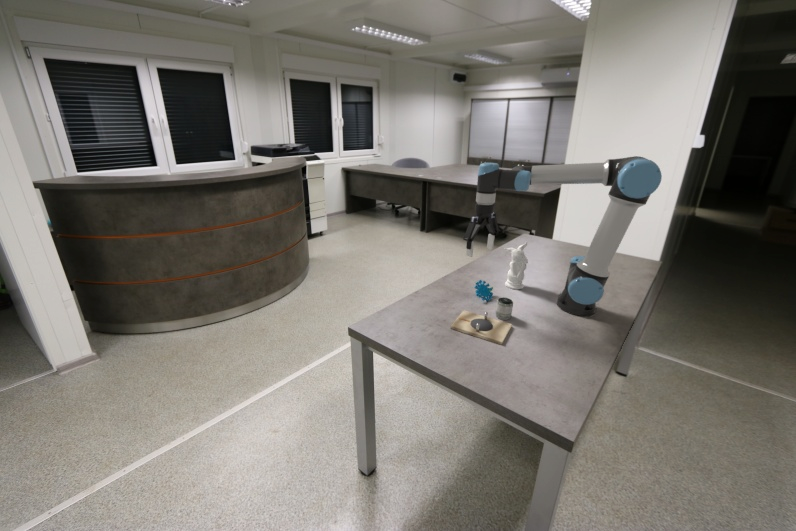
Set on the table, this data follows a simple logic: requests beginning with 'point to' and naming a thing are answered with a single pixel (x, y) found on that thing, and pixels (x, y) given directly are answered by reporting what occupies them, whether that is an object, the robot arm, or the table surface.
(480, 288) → the gear
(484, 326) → the seat
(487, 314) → the pins
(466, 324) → the mount
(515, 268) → the white statue
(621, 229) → the robot arm
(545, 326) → the table surface
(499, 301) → the camera lens
